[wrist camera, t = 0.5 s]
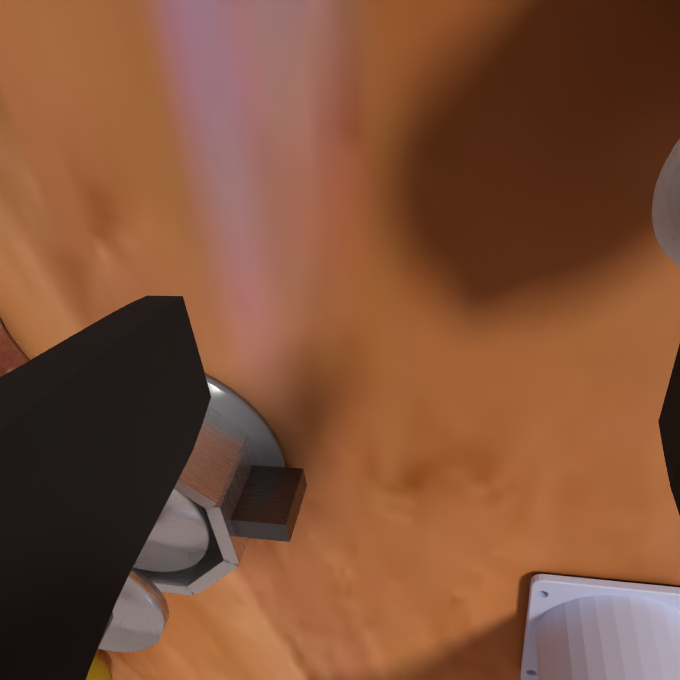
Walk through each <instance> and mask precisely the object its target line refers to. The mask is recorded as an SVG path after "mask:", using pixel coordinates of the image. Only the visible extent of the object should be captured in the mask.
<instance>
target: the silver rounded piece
mask: <svg viewBox="0 0 680 680" xmlns="http://www.w3.org/2000/svg"><path fill="white" fill-rule="evenodd" d="M211 537H212V526H211V523H210V520H209V517H208V515H207V512H206V510H205V508H204V507H202V506H200V505H199V504H197V503H196V502H194V501H192V500H191V499H189V498H188V497H186V496H185V495H183V494H181V493H180V492H178V491H177V490H175V489H173V491H172V493H171V495H170V497H169V499H168V501H167V503H166V505H165V506H164V508H163V510H162V512H161V514H160V516H159V518H158V520H157V522H156V524H155V526H154V528H153V529H152V531H151V533H150V535H149V537H148V539H147V541H146V543H145V545H144V547H143V549H142V551H141V553H140V554H139V556H138V558H137V560H136V562H135V564H134V566H133V568H132V570H131V572H130V574H129V576H128V578H127V580H126V582H125V584H124V586H123V589H122V591H121V593H120V595H119V597H118V599H117V601H116V604H115V606H114V609H113V611H112V614H111V616H110V619H109V621H108V624H107V626H106V629H105V631H104V634H103V636H102V639H101V641H100V644H99V646H98V649H101V650H107V651H115V652H135V651H141V650H144V649H148V648H150V647H152V646H153V645H154V644H156V643H157V642H158V640H159V639H160V637H161V635H162V633H163V630H164V628H165V626H166V624H167V621H168V618H169V609H168V605H167V602H166V600H165V598H164V596H163V595H162V593H161V592H160V590H159V589H158V588H157V587H156V586H155V585H154V583H153V582H152V581H151V580H150V579H148V578H147V577H146V576H145V575H144V574H143V573H141V572H140V571H139V570H137V569H136V568H138V569H142V570H148V571H157V572H171V571H178V570H182V569H186V568H188V567H191V566H193V565H194V564H196V563H197V562H198V561H200V560H201V559H202V557H203V556H204V554H205V552H206V550H207V548H208V545H209V543H210V540H211Z"/></svg>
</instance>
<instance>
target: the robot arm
mask: <svg viewBox="0 0 680 680" xmlns="http://www.w3.org/2000/svg"><path fill="white" fill-rule="evenodd" d="M210 399H211V394H210V390H209V387H208V383H207V380H206V376H205V373H204V369H203V366H202V362H201V359H200V355H199V352H198V348H197V345H196V341H195V338H194V334H193V331H192V327H191V324H190V320H189V317H188V313H187V310H186V306H185V303H184V299H183V296H145V297H143V298H141V299H139V300H136V301H134V302H132V303H130V304H128V305H126V306H124V307H122V308H120V309H119V310H117V311H115V312H113V313H111V314H109V315H108V316H106V317H104V318H102V319H101V320H99V321H97V322H95V323H94V324H92V325H90V326H88V327H87V328H85V329H83V330H82V331H80V332H78V333H76V334H75V335H73V336H71V337H70V338H68V339H66V340H64V341H63V342H61V343H59V344H58V345H56V346H54V347H52V348H51V349H49V350H47V351H45V352H44V353H42V354H40V355H39V356H37V357H35V358H33V359H32V360H30V361H28V362H27V363H25V364H23V365H21V366H19V367H18V368H16V369H14V370H12V371H10V372H8V373H6V374H5V375H3V376H1V377H0V680H86V678H87V675H88V672H89V669H90V667H91V664H92V662H93V659H94V657H95V654H96V652H97V649H98V646H99V644H100V641H101V639H102V636H103V634H104V631H105V629H106V626H107V624H108V621H109V619H110V616H111V614H112V611H113V609H114V606H115V604H116V601H117V599H118V597H119V595H120V593H121V591H122V589H123V586H124V584H125V582H126V580H127V578H128V576H129V574H130V572H131V570H132V568H133V566H134V564H135V562H136V560H137V558H138V556H139V554H140V553H141V551H142V549H143V547H144V545H145V543H146V541H147V539H148V537H149V535H150V533H151V531H152V529H153V528H154V526H155V524H156V522H157V520H158V518H159V516H160V514H161V512H162V510H163V508H164V506H165V505H166V503H167V501H168V499H169V497H170V495H171V493H172V491H173V489H174V487H175V485H176V483H177V481H178V479H179V477H180V475H181V473H182V471H183V469H184V467H185V466H186V463H187V461H188V459H189V457H190V455H191V453H192V451H193V449H194V446H195V443H196V441H197V438H198V435H199V432H200V430H201V427H202V424H203V421H204V418H205V415H206V412H207V409H208V405H209V402H210ZM659 427H660V433H661V439H662V445H663V451H664V457H665V462H666V467H667V472H668V477H669V482H670V487H671V490H672V493H673V496H674V499H675V502H676V505H677V508H678V511H679V514H680V345H679V348H678V352H677V356H676V359H675V363H674V367H673V370H672V374H671V378H670V381H669V385H668V389H667V392H666V396H665V400H664V404H663V407H662V411H661V415H660V418H659ZM520 680H680V587H671V586H661V585H651V584H641V583H631V582H621V581H610V580H600V579H590V578H580V577H570V576H560V575H550V574H537V575H535V576H533V577H532V578H531V583H530V591H529V600H528V609H527V618H526V627H525V636H524V645H523V654H522V663H521V671H520Z"/></svg>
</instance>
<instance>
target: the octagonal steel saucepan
mask: <svg viewBox="0 0 680 680" xmlns="http://www.w3.org/2000/svg"><path fill="white" fill-rule="evenodd" d="M246 435H247V431H245V430H244V429H242V428H241V427H239V426H238V425H236V424H235V423H233V422H232V421H230V420H229V419H228V418H226V417H225V416H223V415H222V414H220V413H219V412H217V411H216V410H214V409H213V408H211V407H210V406H209V405H208V409H207V412H206V415H205V418H204V421H203V424H202V427H201V430H200V432H199V435H198V438H197V441H196V443H195V446H194V449H193V451H192V453H191V455H190V457H189V459H188V461H187V463H186V466H185V467H184V469H183V471H182V473H181V475H180V477H179V479H178V481H177V483H176V485H175V487H174V489H175V490H177V491H178V492H180V493H181V494H183V495H185V496H186V497H188V498H189V499H191V500H192V501H194V502H196V503H197V504H199V505H200V506H202V507H204V508H205V510H206V512H207V515H208V517H209V520H210V523H211V526H212V537H211V540H210V543H209V545H208V548H207V550H206V552H205V554H204V556H203V557H202V559H201V560H200V561H198V562H197V563H196V564H194V565H193V566H191V567H188V568H186V569H182V570H178V571H171V572H157V571H148V570H142V569H138V568H136V569H137V570H139V571H140V572H141V573H143V574H144V575H145V576H146V577H147V578H148V579H150V580H151V581H152V582H153V583H154V585H155V586H156V587H157V588H158V589H159V590H160V592H168V593H176V594H184V595H193V594H196V595H197V594H199V593H200V592H202V591H203V590H205V589H206V588H208V587H209V586H211V585H212V584H214V583H215V582H217V581H218V580H219V579H221V578H222V577H224V576H225V575H227V574H228V573H230V572H231V571H233V570H234V569H236V568H237V567H238V565H239V563H240V560H241V557H242V554H243V552H244V549H245V546H246V543H247V541H248V538H257V539H267V540H278V541H288V542H290V540H291V536H292V533H293V530H294V526H295V523H296V520H297V516H298V513H299V510H300V506H301V503H302V500H303V496H304V493H305V490H306V486H307V484H306V479H305V474H304V470H303V469H299V468H285V467H270V466H258V462H257V458H256V454H255V451H254V447H253V443H252V439H251V436H246Z"/></svg>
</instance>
